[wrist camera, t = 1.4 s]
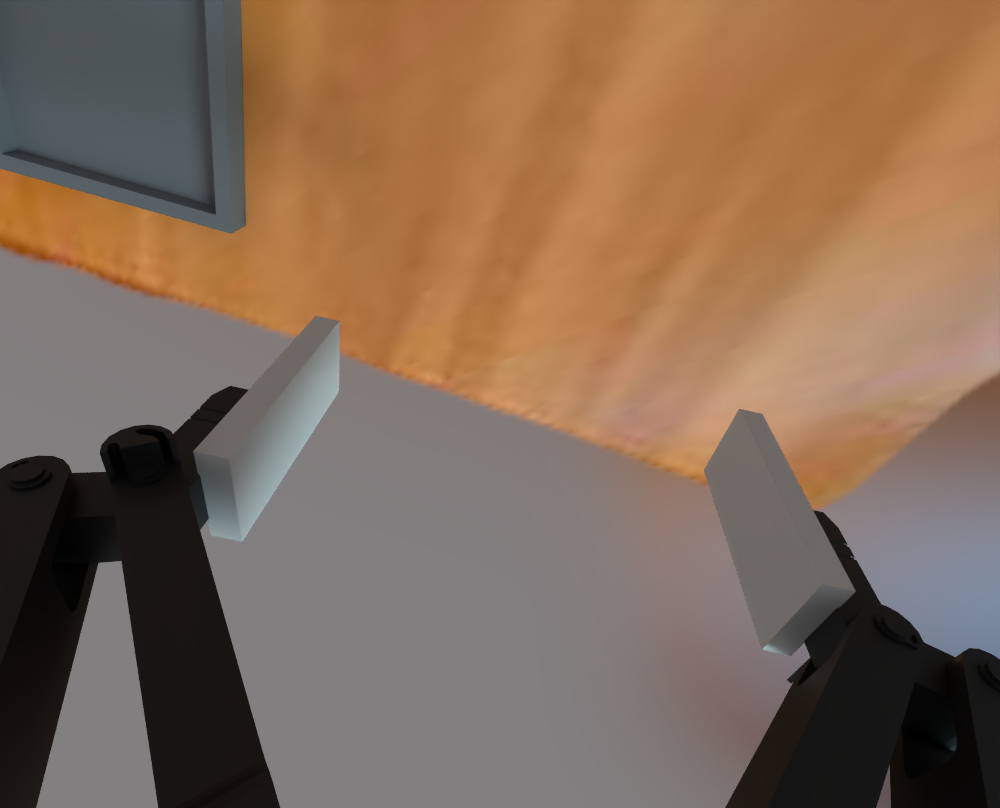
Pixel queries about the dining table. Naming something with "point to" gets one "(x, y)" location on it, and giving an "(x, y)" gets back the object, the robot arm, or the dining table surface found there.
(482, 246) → the dining table surface
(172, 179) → the tray
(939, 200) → the dining table surface
